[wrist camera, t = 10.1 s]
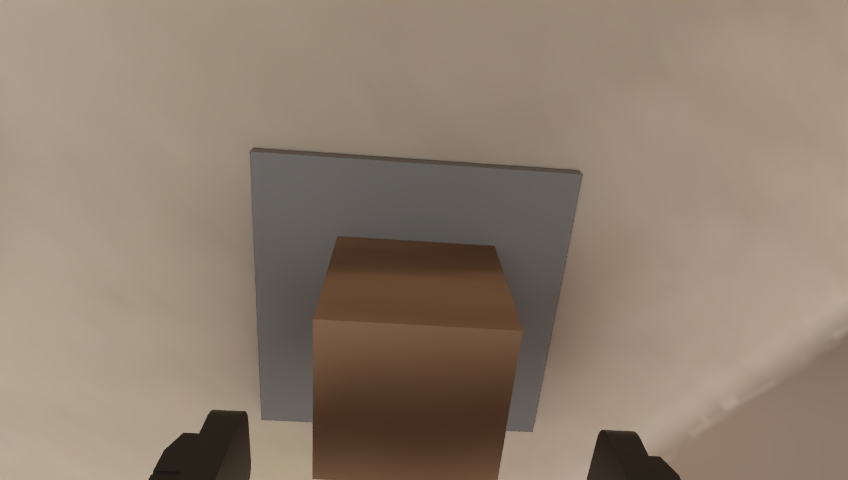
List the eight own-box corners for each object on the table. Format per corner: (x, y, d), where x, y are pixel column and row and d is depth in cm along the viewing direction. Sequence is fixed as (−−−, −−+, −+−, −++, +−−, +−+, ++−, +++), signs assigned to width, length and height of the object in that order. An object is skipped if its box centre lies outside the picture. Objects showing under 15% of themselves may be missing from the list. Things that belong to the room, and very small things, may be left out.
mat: (253, 148, 17) (249, 151, 17) (579, 170, 18) (582, 174, 17) (264, 412, 21) (261, 419, 21) (530, 424, 22) (532, 432, 21)
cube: (337, 235, 18) (313, 319, 14) (494, 245, 18) (523, 330, 14) (334, 367, 20) (312, 478, 15) (476, 374, 20) (496, 486, 16)
